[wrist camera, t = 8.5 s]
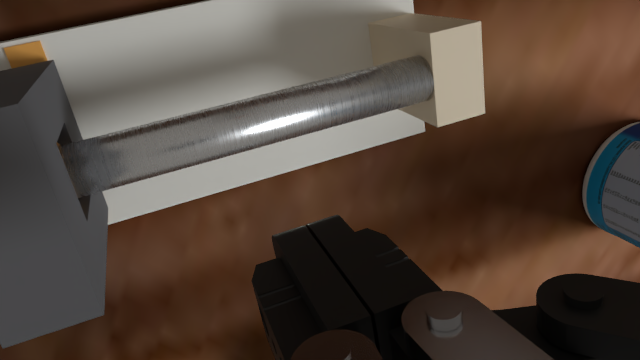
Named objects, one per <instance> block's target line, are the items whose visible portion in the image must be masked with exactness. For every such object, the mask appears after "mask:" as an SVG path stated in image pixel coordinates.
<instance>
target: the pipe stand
mask: <svg viewBox="0 0 640 360" xmlns="http://www.w3.org/2000/svg"><path fill="white" fill-rule="evenodd" d="M416 55H420V56H422V57H424V58H425V59H426V61H427V62H428V64H429V66H430V68H431V71H432V74H433V79H434V92H433V95H432V97H431V99H430V100H428V101H425V102H421V103H418V104H414V105H411V106H407V107H403V108H400V109H396V110H393V111H389V112H385V113H382V114H378V115H375V116H371V117H367V118H364V119H360V120H357V121H353V122H349V123H346V124H342V125H339V126H335V127H331V128H328V129H324V130H321V131H317V132H314V133H310V134H306V135H303V136H299V137H296V138H292V139H288V140H285V141H281V142H278V143H274V144H270V145H267V146H263V147H260V148H256V149H252V150H249V151H245V152H242V153H238V154H235V155H231V156H227V157H224V158H220V159H217V160H213V161H209V162H206V163H202V164H199V165H195V166H191V167H188V168H184V169H181V170H177V171H173V172H170V173H166V174H163V175H159V176H156V177H152V178H148V179H145V180H141V181H138V182H134V183H130V184H127V185H123V186H120V187H116V188H112V189H109V190H105V191H102V192H103V195H104V198H105V200H106V203H107V206H108V225H109V224H112V223H116V222H119V221H122V220H126V219H129V218H133V217H136V216H139V215H143V214H146V213H150V212H153V211H156V210H160V209H163V208H167V207H170V206H173V205H177V204H180V203H184V202H187V201H190V200H194V199H197V198H201V197H204V196H207V195H211V194H214V193H218V192H221V191H224V190H228V189H231V188H235V187H238V186H241V185H245V184H248V183H252V182H255V181H258V180H262V179H265V178H269V177H272V176H275V175H279V174H282V173H286V172H289V171H292V170H296V169H299V168H303V167H306V166H309V165H313V164H316V163H320V162H323V161H326V160H330V159H333V158H337V157H340V156H343V155H347V154H350V153H354V152H357V151H360V150H364V149H367V148H371V147H374V146H377V145H381V144H384V143H388V142H391V141H394V140H398V139H401V138H405V137H408V136H411V135H415V134H418V133H422V132H425V124H424V121H425V122H427V123H429V124H431V125H434V126H436V127H441V126H444V125H448V124H451V123H454V122H458V121H461V120H465V119H468V118H471V117H475V116H478V115H482V114H485V99H484V77H483V56H482V34H481V21H475V20H466V19H458V18H449V17H440V16H431V15H422V14H414V7H413V0H205V1H200V2H195V3H190V4H185V5H180V6H175V7H170V8H165V9H160V10H155V11H150V12H145V13H140V14H135V15H130V16H125V17H121V18H116V19H111V20H106V21H101V22H96V23H91V24H86V25H81V26H76V27H71V28H66V29H61V30H56V31H51V32H46V33H41V34H37V35H32V36H27V37H22V38H17V39H12V40H7V41H2V42H0V71H3V70H7V69H12V68H17V67H21V66H26V65H31V64H35V63H40V62H44V61H49V60H54V62H55V65H56V68H57V71H58V73H59V76H60V79H61V81H62V84H63V87H64V89H65V92H66V95H67V98H68V100H69V103H70V106H71V108H72V111H73V114H74V117H75V119H76V122H77V125H78V127H79V130H80V133H81V136H82V138H83V140H84V139H88V138H92V137H96V136H100V135H104V134H108V133H112V132H116V131H120V130H124V129H128V128H132V127H136V126H140V125H144V124H148V123H152V122H155V121H159V120H163V119H167V118H171V117H175V116H179V115H183V114H187V113H191V112H195V111H199V110H203V109H207V108H211V107H215V106H219V105H223V104H227V103H231V102H234V101H238V100H242V99H246V98H250V97H254V96H258V95H262V94H266V93H270V92H274V91H278V90H282V89H286V88H290V87H294V86H298V85H302V84H306V83H309V82H313V81H317V80H321V79H325V78H329V77H333V76H337V75H341V74H345V73H349V72H353V71H357V70H361V69H365V68H369V67H373V66H377V65H381V64H385V63H388V62H392V61H396V60H400V59H404V58H408V57H412V56H416Z"/></svg>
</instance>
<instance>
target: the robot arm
mask: <svg viewBox="0 0 640 360" xmlns="http://www.w3.org/2000/svg"><path fill="white" fill-rule="evenodd" d="M272 242H273V247H274V251H275V255H276V259H273V260H270V261H267V262H264V263H261V264H258V265H256V267H255V271H254V275H253V278H252V284H253V287H254V291H255V295H256V299H257V302H258V306H259V310H260V313H261V317H262V321H263V325H264V328H265V332H266V336H267V339H268V342H269V344H270V347H271V349H272V352H273V354H274V356H275V360H640V283H636V282H630V281H624V280H618V279H612V278H606V277H600V276H594V275H588V274H565V275H559V276H556V277H553V278H551V279H548V280H547V281H545V282H544V283H543V284H541V285H540V287H539V288H538V290H537V294H536V306H528V307H520V308H512V309H504V310H490V309H489V308H487V307H486V306H485V305H484V304H482V303H481V302H480V301H478V300H477V299H475V298H474V297H472V296H469V295H467V294H464V293H460V292H455V291H442V290H441V289H440V288H439V287H438V286H437V285H436V284H435V283H434V282H433V281H432V280H431V279H430V278H429V277H428V276H427V275H426V274H425V273H424V272H423V271H422V270H421V269H420V268H419V267H418V266H417V265H416V264H415V263H414V262H413V261H412V260H411V259H408V256H407V255H406V254H405V253H404V252H403V251H402V250H401V249H400V250H399V249H398V246H397V245H395V244H394V243H393V242H392V241H391V240H390V239H389V238H388V237H387V236H386V235H384V234H381V233H379V232H376V231H373V230H371V229H368V228H366V229H363V230H360V231H357V232H354V231H353V230H352V229H351V228H350V227H349V226H348V224H347V223H346V222H345V221H344V220H343V219H342V218H341V217H340V216H339V215H335V216H332V217H328V218H325V219H322V220H319V221H316V222H313V223H310V224H306V226H301V227H297V228H294V229H291V230H288V231H285V232H282V233H279V234H276V235H272Z"/></svg>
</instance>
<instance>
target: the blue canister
mask: <svg viewBox="0 0 640 360" xmlns="http://www.w3.org/2000/svg"><path fill="white" fill-rule="evenodd" d="M582 198H583V205H584V208H585V211H586V213H587V215H588V217H589V218H590V220H591V221H592V222H593V223H594V224H595V225H596V226H598V227H599V228H601V229H603V230H605V231H607V232H609V233H611V234H613V235H615V236H618V237H620V238H622V239H624V240H626V241H628V242H630V243H631V244H633V245H635V246H637V247H639V248H640V122H636V123H632V124H629V125H627V126H625V127H623V128H621V129H619V130H618V131H616V132H615V133H613V134H612V135H611V136H610V137H609V138H608V139H607V140H606V141H605V142H604V143H603V144H602V145H601V146H600V148H599V149H598V150H597V152H596V153H595V155H594V156H593V158H592V160H591V162H590V164H589V166H588V168H587V171H586V174H585V178H584V182H583V189H582Z"/></svg>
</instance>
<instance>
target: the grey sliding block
mask: <svg viewBox="0 0 640 360" xmlns="http://www.w3.org/2000/svg"><path fill="white" fill-rule="evenodd" d="M80 140H83V138H82V136H81V133H80V130H79V127H78V125H77V122H76V119H75V117H74V114H73V111H72V108H71V106H70V103H69V100H68V98H67V95H66V92H65V89H64V87H63V84H62V81H61V79H60V76H59V73H58V71H57V68H56V65H55V62H54V60H49V61H44V62H40V63H35V64H31V65H26V66H21V67H17V68H12V69H7V70H3V71H0V344H1V346H2V348H6V347H9V346H12V345H15V344H18V343H21V342H24V341H27V340H30V339H33V338H36V337H39V336H42V335H45V334H48V333H51V332H54V331H57V330H60V329H63V328H66V327H69V326H72V325H75V324H78V323H81V322H84V321H87V320H90V319H93V318H96V317H99V316H102V315H104V304H105V280H106V255H107V230H108V206H107V203H106V200H105V198H104V195H103V192H98V193H94V194H91V195H87V196H84V197H80V198H78V197H77V195H76V192H75V190H74V187H73V184H72V182H71V179H70V177H69V174H68V172H67V169H66V167H65V164H64V161H63V159H62V156H61V154H60V151H59V149H58V146H57V144H56V143H57V142H58V143H59V144H60V145H65V144H69V143H73V142H77V141H80Z"/></svg>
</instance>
